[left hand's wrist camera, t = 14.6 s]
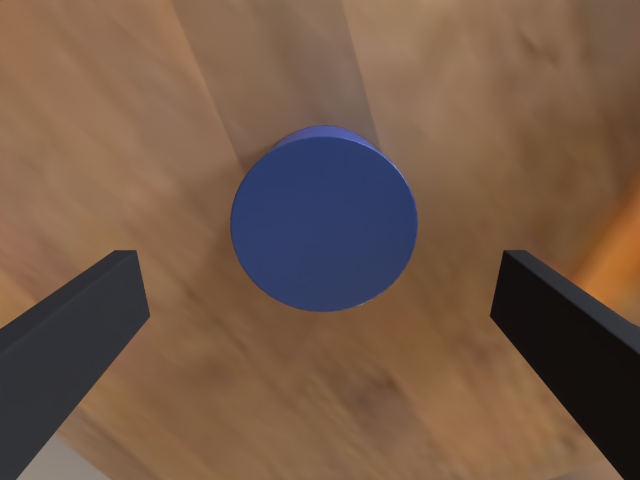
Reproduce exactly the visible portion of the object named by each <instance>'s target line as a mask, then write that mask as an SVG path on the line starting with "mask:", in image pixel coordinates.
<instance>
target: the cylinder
mask: <svg viewBox="0 0 640 480" xmlns="http://www.w3.org/2000/svg"><path fill="white" fill-rule="evenodd" d="M417 228H418V219H417V210H416V205H415V200H414V198H413V195H412V192H411V189H410V187H409V186H408V184H407V182H406V180H405V178H404V177H403V175H402V174H401V173H400V171H399V170H398V169H397V168H396V167H395V166H394V165H393V164H392V163H391V162H390V161H389V159H387V158H386V157H385V156H384V155H383V154H381V153H380V152H379V151H378V150H377V149H375V148H374V147H373V146H372V145H371V144H369V143H368V142H367V141H366V140H364V139H363V138H362V137H360V136H359V135H357V134H355V133H353V132H351V131H348V130H346V129H343V128H339V127H334V126H314V127H308V128H304V129H301V130H298V131H296V132H294V133H292V134H290V135H288V136H287V137H285V138H284V139H282V140H281V141H280V142H279V143H278V144H277V145H275V146H274V147H273V148H272V149H271V150H270V151H269V152H268V153H267V154H266V155H265V156H263V157H262V158H261V159H260V160H259V161H258V162H257V163H256V164H255V165H254V166H253V167H252V168H251V170H250V171H249V172H248V173H247V175H246V176H245V178H244V179H243V181H242V182H241V184H240V186H239V188H238V191H237V193H236V195H235V199H234V202H233V206H232V212H231V236H232V242H233V246H234V249H235V253H236V255H237V257H238V259H239V262H240V264H241V265H242V267H243V269H244V270H245V272H246V273H247V275H248V276H249V277H250V278H251V280H252V281H253V282H254V283H255V284H256V285H257V286H258V287H259V288H260V289H262V290H263V291H264V292H265V293H267V294H268V295H269V296H271V297H273V298H274V299H276V300H278V301H280V302H282V303H284V304H286V305H289V306H292V307H295V308H298V309H302V310H307V311H316V312H333V311H340V310H345V309H349V308H353V307H356V306H359V305H361V304H364V303H366V302H368V301H370V300H372V299H374V298H375V297H377V296H378V295H380V294H381V293H383V292H384V291H385V290H386V289H387V288H388V287H390V286H391V285H392V284H393V283H394V282H395V280H396V279H397V278H398V277H399V276H400V274H401V273H402V271H403V270H404V269H405V267H406V265H407V263H408V261H409V259H410V257H411V255H412V252H413V249H414V247H415V242H416V237H417Z"/></svg>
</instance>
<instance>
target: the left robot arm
mask: <svg viewBox="0 0 640 480" xmlns="http://www.w3.org/2000/svg"><path fill="white" fill-rule="evenodd" d="M149 317H150V313H149V308H148V304H147V299H146V294H145V289H144V285H143V280H142V275H141V270H140V266H139V261H138V256H137V251H136V250H115V251H113V252H112V253H110V254H109V255H107V256H106V257H105V258H103V259H102V260H100V261H99V262H97V263H96V264H94V265H93V266H91V267H90V268H89V269H87V270H86V271H84V272H83V273H81V274H80V275H78V276H77V277H75V278H74V279H73V280H71V281H70V282H68V283H67V284H65V285H64V286H62V287H61V288H59V289H58V290H57V291H55V292H54V293H52V294H51V295H49V296H48V297H46V298H45V299H44V300H42V301H41V302H39V303H38V304H36V305H35V306H33V307H32V308H30V309H29V310H28V311H26V312H25V313H23V314H22V315H20V316H19V317H17V318H16V319H14V320H13V321H12V322H10V323H9V324H7V325H6V326H4V327H3V328H1V329H0V480H16V479H17V478H18V477H19V475H20V474H21V473H22V472H23V471H24V469H25V468H26V467H27V466H28V464H29V463H30V462H31V461H32V459H33V458H34V457H35V456H36V455H37V453H38V452H39V451H40V450H41V449H42V447H43V446H44V445H45V444H46V442H47V441H48V440H49V439H50V438H51V436H52V435H53V434H54V433H55V432H56V430H57V429H58V428H59V427H60V425H61V424H62V423H63V422H64V421H65V419H66V418H67V417H68V416H69V414H70V413H71V412H72V411H73V410H74V408H75V407H76V406H77V405H78V404H79V402H80V401H81V400H82V399H83V397H84V396H85V395H86V394H87V393H88V391H89V390H90V389H91V388H92V386H93V385H94V384H95V383H96V382H97V380H98V379H99V378H100V377H101V375H102V374H103V373H104V372H105V371H106V369H107V368H108V367H109V366H110V365H111V363H112V362H113V361H114V360H115V358H116V357H117V356H118V355H119V354H120V352H121V351H122V350H123V349H124V347H125V346H126V345H127V344H128V343H129V341H130V340H131V339H132V338H133V336H134V335H135V334H136V333H137V332H138V330H139V329H140V328H141V327H142V326H143V324H144V323H145V322H146V321H147V319H148V318H149ZM490 317H491V318H492V319H493V321H494V322H495V323H496V324H497V326H498V327H499V328H500V329H501V330H502V332H503V333H504V334H505V335H506V336H507V338H508V339H509V340H510V341H511V343H512V344H513V345H514V346H515V347H516V349H517V350H518V351H519V352H520V354H521V355H522V356H523V357H524V358H525V360H526V361H527V362H528V363H529V365H530V366H531V367H532V368H533V369H534V371H535V372H536V373H537V374H538V375H539V377H540V378H541V379H542V380H543V382H544V383H545V384H546V385H547V386H548V388H549V389H550V390H551V391H552V393H553V394H554V395H555V396H556V397H557V399H558V400H559V401H560V402H561V404H562V405H563V406H564V407H565V408H566V410H567V411H568V412H569V413H570V414H571V416H572V417H573V418H574V419H575V421H576V422H577V423H578V424H579V425H580V427H581V428H582V429H583V430H584V432H585V433H586V434H587V435H588V436H589V438H590V439H591V440H592V441H593V443H594V444H595V445H596V446H597V447H598V449H599V450H600V451H601V452H602V453H603V455H604V456H605V457H606V458H607V460H608V461H609V462H610V463H611V464H612V466H613V467H614V468H615V469H616V470H617V472H618V473H619V474H620V475H621V477H622V478H623V479H624V480H640V327H638V326H636V325H634V324H632V323H630V322H628V321H627V320H626V319H624V318H623V317H621V316H620V315H618V314H617V313H615V312H614V311H612V310H611V309H610V308H608V307H607V306H605V305H604V304H602V303H601V302H599V301H598V300H596V299H595V298H594V297H592V296H591V295H589V294H588V293H586V292H585V291H583V290H582V289H581V288H579V287H578V286H576V285H575V284H573V283H572V282H570V281H569V280H567V279H566V278H565V277H563V276H562V275H560V274H559V273H557V272H556V271H554V270H553V269H551V268H550V267H549V266H547V265H546V264H544V263H543V262H541V261H540V260H538V259H537V258H535V257H534V256H533V255H531V254H530V253H528V252H527V251H525V250H504V251H503V256H502V261H501V266H500V270H499V275H498V280H497V285H496V289H495V294H494V299H493V304H492V308H491V313H490Z"/></svg>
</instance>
